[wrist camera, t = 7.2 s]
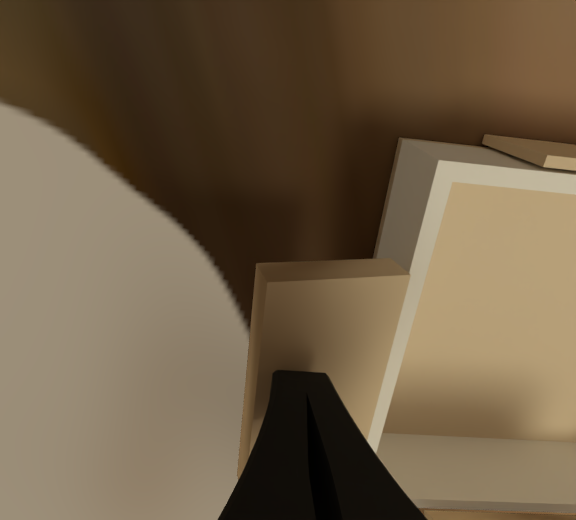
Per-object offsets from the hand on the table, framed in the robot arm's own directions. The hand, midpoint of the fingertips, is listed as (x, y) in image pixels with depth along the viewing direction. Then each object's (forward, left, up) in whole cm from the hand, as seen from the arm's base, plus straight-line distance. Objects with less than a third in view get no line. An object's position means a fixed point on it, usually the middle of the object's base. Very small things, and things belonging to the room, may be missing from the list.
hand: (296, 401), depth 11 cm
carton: (-9, +1, -6) cm, 11 cm away
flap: (-1, +1, -1) cm, 1 cm away
